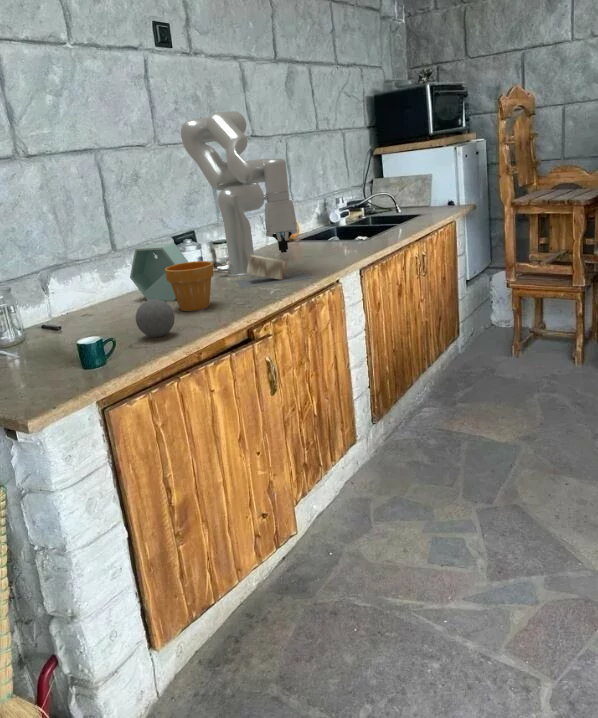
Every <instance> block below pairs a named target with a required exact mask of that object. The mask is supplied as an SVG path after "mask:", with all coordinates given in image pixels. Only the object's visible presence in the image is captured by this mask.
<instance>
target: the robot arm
mask: <svg viewBox="0 0 598 718" xmlns="http://www.w3.org/2000/svg"><path fill="white" fill-rule="evenodd" d="M246 130H247V121H246V118H245V116H243V114H241V112H239V111H221V112H215V113H213V114H210V115H209V116H207V117H199V118H192V119H189V120H187V121H185V122H184V123H183V124H182V125H181V128H180V135H181V136H180V138H181V143H182V144H183V147H184V149H185V151H186V153H187V154H188V155H189V157H191V158H192V159H193V161H194V162H195V163H196V164H197V166H198V168H199V169H200V171H201V172H202V174H203V176H204V177H205V178H206V180H207V182H208V184H209V185H210V186H211V188H212V189H213V190H215V191H220V192H219V193H218V195H217V203H218V207H219V210H220V214H221V217H222V222H223V227H224V233H225V234H224V235H225V242H226V248H227V255H228V262H227V264H225V265H219V266H217V267H216V268H217V272H218V273H219V272H226V276H227V277H234V278H235V277H244V276H251V275H250V274H248V273H247V267H248V261H249V255H250V254H251V255H255V252H254V250H255V249H254V245H253V244H254V242H253V235H252V233H253V232H252V227H251V223H250V220H249V219H248V217H247V216H246V215H245V213H247V212H252V211H256V210H259V209H261V208H262V207H263V206H264V221H265V224H264V225H265V231H266V232H265V236H266V237H268V238H274V239H275V240H276V241H277V244H278V251H280V252H281V254H285V253H286V254H287V252H288V251H287V250H289V244H288V241H289V238H290V237H291V236H292V235H295V234H297V233H298V224H297V223H298V222H297V216H296V212H295V211H296V210H295V206H294V203H293V200H292V199H290V191H289V182H288V181H289V180H288V173H287V171H288V170H287V164H286V160H285V159H284V158H261V159H258V158H257V159H252V160H251V159H250V160H245V159H244V158H243V157H242V156H241V155H242V153H244V152H245V150H246V149H247V146H248V143H249V142H248V138H247V135H245V133H246ZM212 142H217V143H218V144H219V145H220V146H221V147H222V149H224V151H225V152H226V154H225V160H226V161H224V160H223V159H222V158H221V156H220V155H219V153H218V152H217V150H216V149H215V148H213V147H212V146H210V145H208V144H207V143H212ZM259 183H264V185H265V194H264V190H263V189H262V186H260V184H259ZM265 201H266V202H265ZM264 204H265V205H264ZM281 233H283V234H282V235H283V236H282V237H281Z"/></svg>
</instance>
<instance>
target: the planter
mask: <svg viewBox="0 0 598 718" xmlns="http://www.w3.org/2000/svg"><path fill="white" fill-rule="evenodd" d="M156 257H157V258H156ZM186 262H189V261H188V259H187V258H186V257H185V255H184V254H183V252H181V250H180V249H179V247H178V246H177V244H176V243H173V242H171V243H153V244H152V243H151V244H145V245H143V246H140V247H136V248H135V249H134V253H133V259H132V263H131V269H130V275H129V278H130V280H131V281H132V282H133V284H134V285H135V286H136V287H137V289H138V291H140V293H141V294H142V295H143V297H144V298H145V299H146V301H148V300H151V299H159V300H162V301H164V302H166V301H167V302H168V301H169V302H170V301H177V299H176V297H175V294H174V291H173V288H172V286H171V283H170V282H168V281H167V277H166V272H165V269H166V268H167V267H169V266H172V265H176V264H180V263H186Z"/></svg>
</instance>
